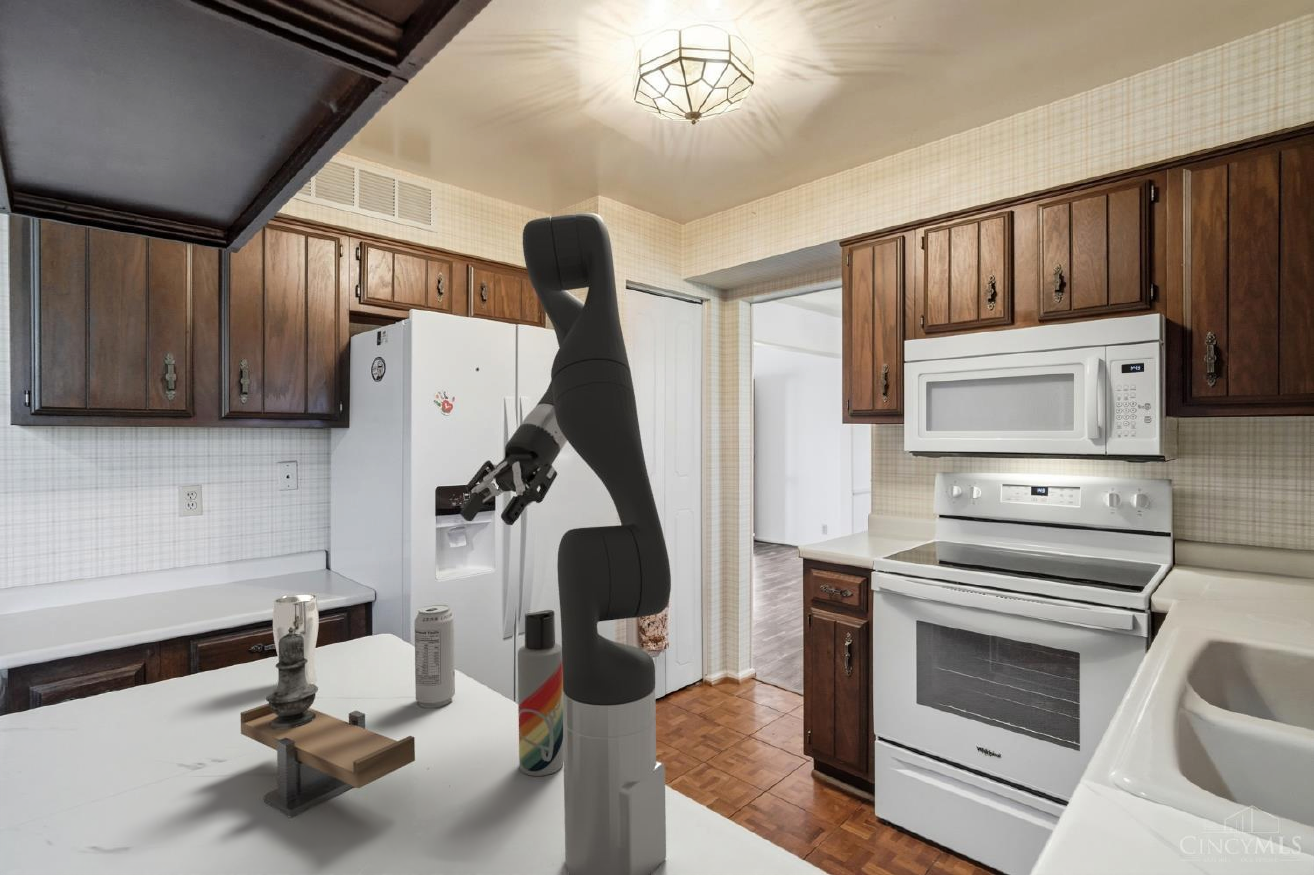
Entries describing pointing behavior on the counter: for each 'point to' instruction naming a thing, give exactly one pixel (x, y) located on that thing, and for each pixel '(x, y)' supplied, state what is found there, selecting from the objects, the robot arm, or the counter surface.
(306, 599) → the beer glass
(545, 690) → the lotion bottle
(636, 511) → the robot arm
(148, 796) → the counter surface
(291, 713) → the dark grey turned piece
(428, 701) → the energy drink can
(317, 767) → the beam
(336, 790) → the pivot stand
